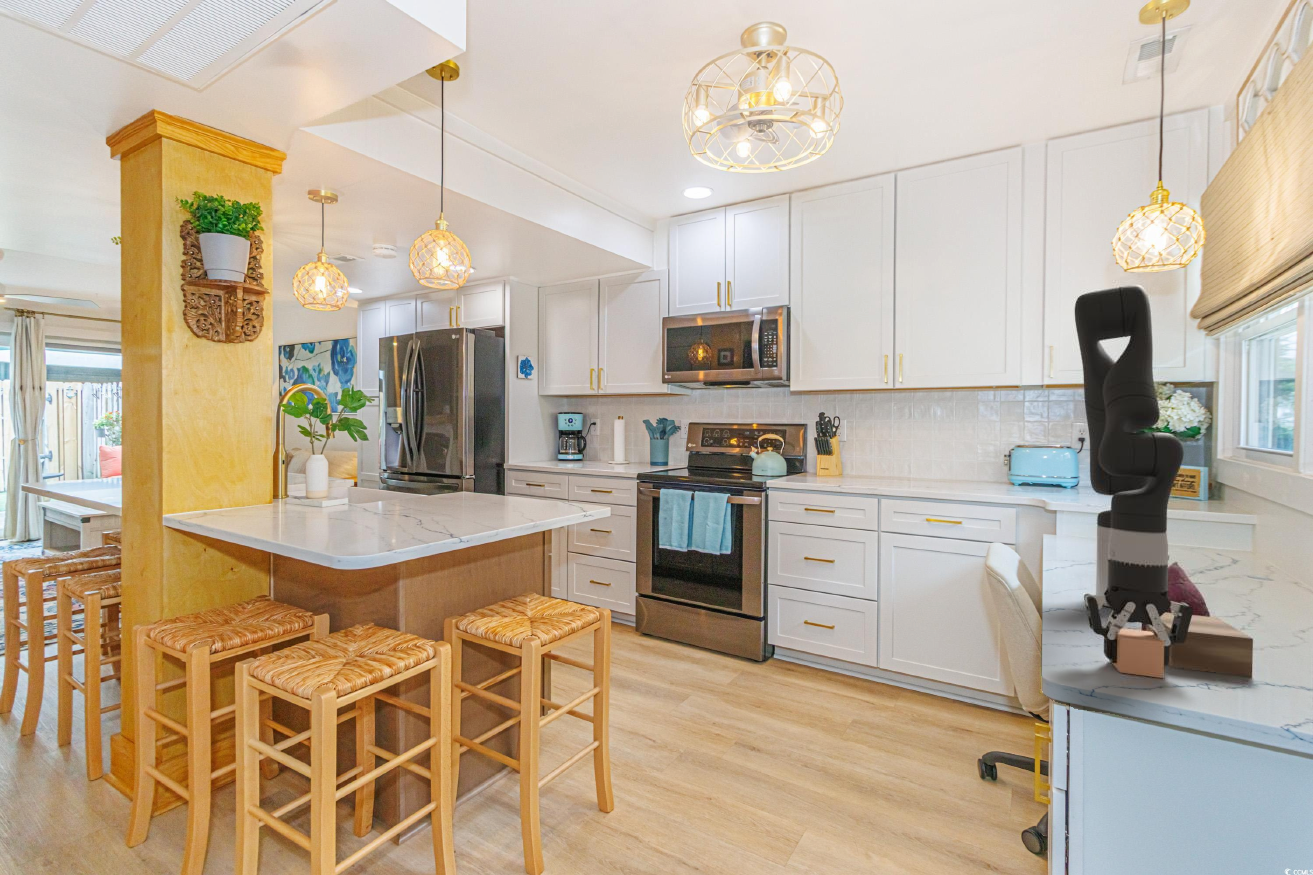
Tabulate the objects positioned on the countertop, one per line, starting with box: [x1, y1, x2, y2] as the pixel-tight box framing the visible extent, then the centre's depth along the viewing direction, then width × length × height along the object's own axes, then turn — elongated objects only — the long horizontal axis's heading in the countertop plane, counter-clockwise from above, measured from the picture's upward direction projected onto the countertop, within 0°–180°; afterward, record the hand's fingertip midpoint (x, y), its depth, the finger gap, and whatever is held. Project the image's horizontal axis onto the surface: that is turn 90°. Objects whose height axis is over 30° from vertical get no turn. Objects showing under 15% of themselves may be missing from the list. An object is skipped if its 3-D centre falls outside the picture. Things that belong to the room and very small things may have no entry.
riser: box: [1146, 612, 1254, 678], centre depth 103 cm, size 12×10×6 cm
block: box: [1111, 628, 1165, 679], centre depth 98 cm, size 6×6×6 cm
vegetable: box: [1141, 561, 1211, 631], centre depth 117 cm, size 10×10×15 cm
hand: (1135, 663), depth 98 cm, fingers closed on block, 5 cm apart
